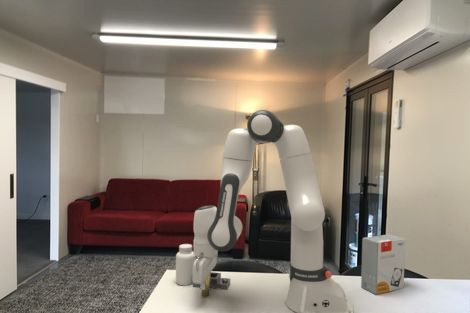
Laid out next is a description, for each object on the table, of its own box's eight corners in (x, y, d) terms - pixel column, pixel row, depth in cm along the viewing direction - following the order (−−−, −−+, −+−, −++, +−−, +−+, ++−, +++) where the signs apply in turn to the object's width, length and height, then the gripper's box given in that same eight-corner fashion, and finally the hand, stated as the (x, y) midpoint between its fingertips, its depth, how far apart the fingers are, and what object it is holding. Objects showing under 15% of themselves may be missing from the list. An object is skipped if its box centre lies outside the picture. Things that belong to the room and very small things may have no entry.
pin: (210, 293, 118) (210, 272, 118) (208, 297, 115) (208, 276, 115) (202, 293, 119) (202, 272, 118) (200, 296, 116) (200, 275, 116)
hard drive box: (376, 295, 117) (376, 242, 116) (360, 287, 124) (360, 237, 123) (404, 288, 123) (405, 238, 123) (388, 280, 130) (388, 233, 130)
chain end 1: (220, 282, 128) (220, 271, 128) (217, 288, 122) (217, 276, 122) (197, 280, 130) (197, 269, 130) (192, 286, 124) (192, 274, 124)
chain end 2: (230, 283, 127) (230, 276, 127) (227, 289, 121) (227, 282, 121) (206, 281, 129) (206, 274, 129) (202, 287, 123) (202, 280, 123)
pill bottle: (191, 286, 124) (191, 249, 124) (172, 284, 126) (172, 248, 126) (197, 278, 132) (197, 243, 132) (180, 277, 134) (179, 242, 133)
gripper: (205, 259, 106) (205, 299, 106) (220, 241, 126) (220, 275, 126) (187, 257, 107) (187, 297, 107) (205, 240, 127) (205, 274, 127)
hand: (205, 285), depth 117 cm, fingers open, 4 cm apart
